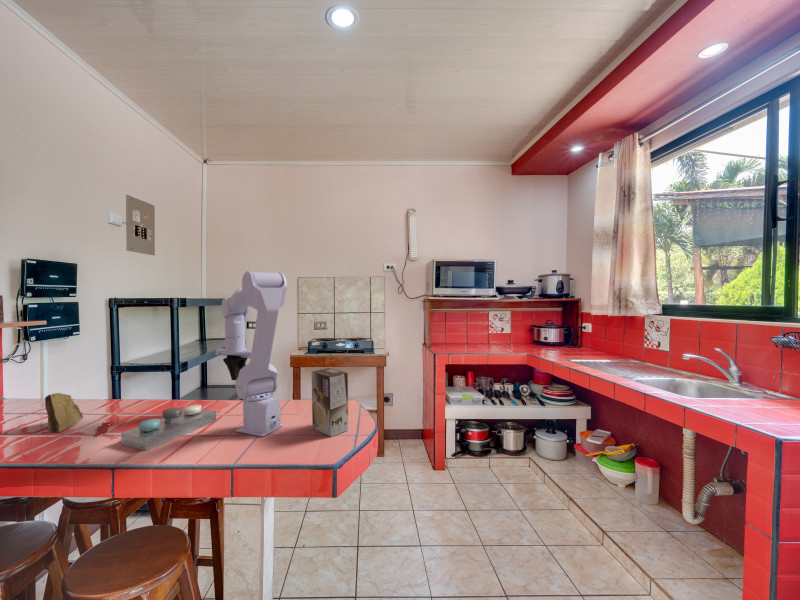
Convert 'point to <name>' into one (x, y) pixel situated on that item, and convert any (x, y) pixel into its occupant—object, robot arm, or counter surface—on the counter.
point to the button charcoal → (172, 415)
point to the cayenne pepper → (102, 429)
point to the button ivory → (192, 410)
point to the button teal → (149, 425)
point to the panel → (167, 430)
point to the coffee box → (330, 401)
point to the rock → (61, 412)
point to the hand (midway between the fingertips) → (235, 379)
